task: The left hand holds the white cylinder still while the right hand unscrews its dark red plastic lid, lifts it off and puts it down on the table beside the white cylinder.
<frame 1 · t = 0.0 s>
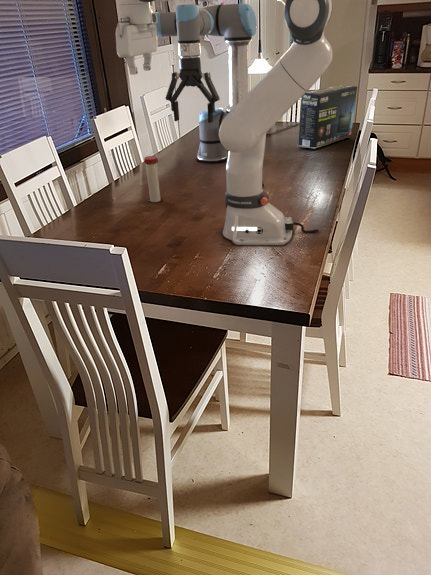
left hand: (193, 121, 169), 28 cm above the table, tool pointing down, fingers open, 13 cm apart
right hand: (140, 72, 133), 48 cm above the table, tool pointing down, fingers open, 8 cm apart
lid: (150, 158, 171), point 16 cm above the table, screwed on, not yet turned
router box: (325, 143, 245), on the table
white cylinder: (155, 200, 179), on the table
handgun: (249, 180, 196), on the table
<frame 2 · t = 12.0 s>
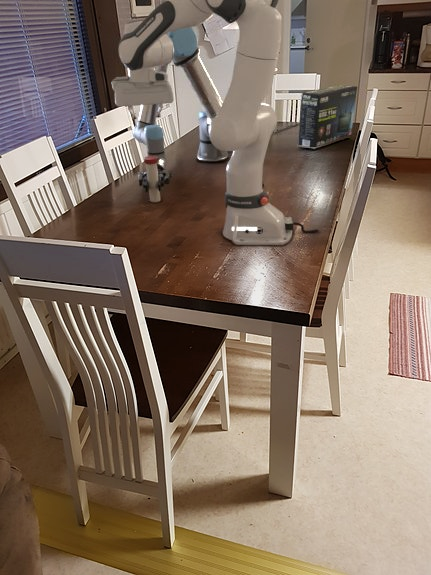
left hand: (152, 188, 171), 7 cm above the table, tool horizontal, fingers closed on white cylinder, 4 cm apart
right hand: (146, 118, 163), 31 cm above the table, tool pointing down, fingers open, 7 cm apart
white cylinder: (155, 200, 179), on the table, touching left hand
everything else where it was.
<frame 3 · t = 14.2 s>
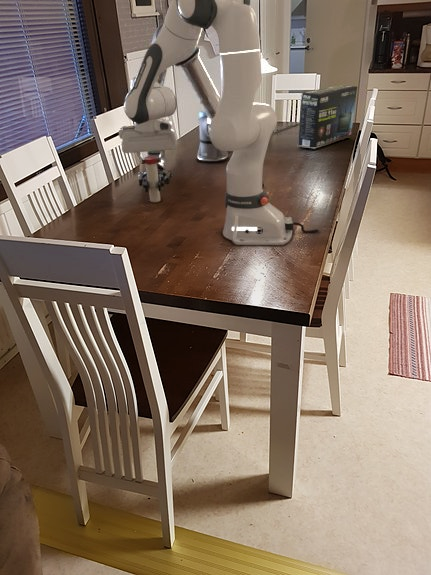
left hand: (152, 188, 171), 7 cm above the table, tool horizontal, fingers closed on white cylinder, 4 cm apart
right hand: (151, 162, 171), 15 cm above the table, tool pointing down, fingers closed on lid, 5 cm apart
lid: (150, 158, 171), point 16 cm above the table, screwed on, not yet turned, touching right hand
white cylinder: (155, 200, 179), on the table, touching left hand
everything else where it was.
when the right hand's fingers open (15 cm above the table, at t = 15.4 s): lid stays where it is, point 16 cm above the table.
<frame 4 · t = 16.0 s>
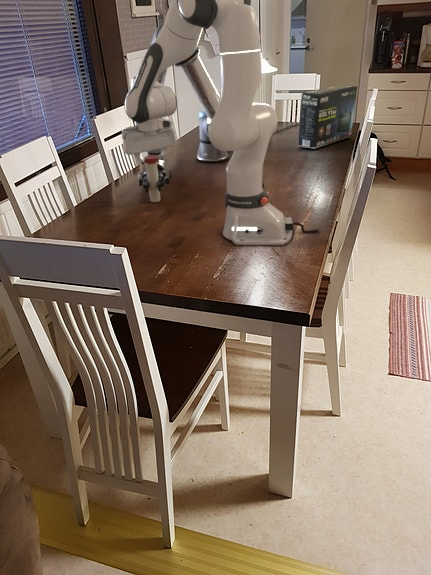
left hand: (152, 188, 171), 7 cm above the table, tool horizontal, fingers closed on white cylinder, 4 cm apart
right hand: (151, 162, 171), 15 cm above the table, tool pointing down, fingers open, 7 cm apart
lid: (150, 158, 170), point 16 cm above the table, turned 73° so far, risen 0.2 cm, still on its thread
white cylinder: (155, 200, 179), on the table, touching left hand
everything else where it was.
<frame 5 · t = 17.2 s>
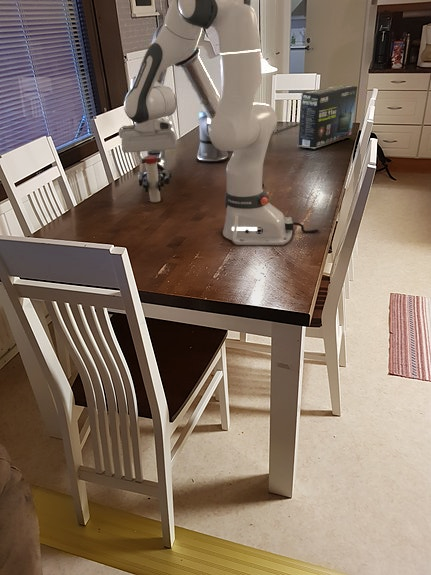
left hand: (152, 188, 171), 7 cm above the table, tool horizontal, fingers closed on white cylinder, 4 cm apart
right hand: (151, 162, 171), 15 cm above the table, tool pointing down, fingers closed on lid, 5 cm apart
lid: (150, 158, 170), point 16 cm above the table, turned 73° so far, risen 0.2 cm, still on its thread, touching right hand
white cylinder: (155, 200, 179), on the table, touching left hand
everything else where it was.
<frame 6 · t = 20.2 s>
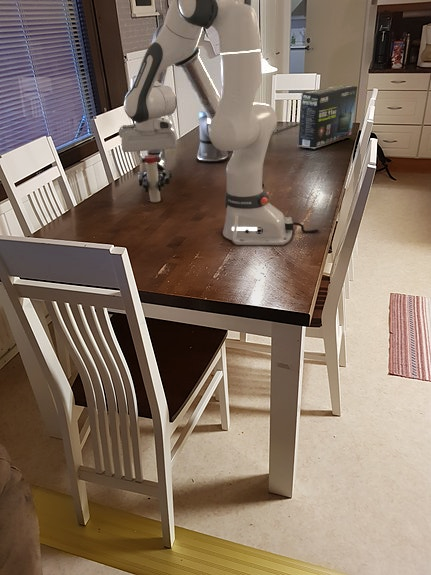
left hand: (152, 188, 171), 7 cm above the table, tool horizontal, fingers closed on white cylinder, 4 cm apart
right hand: (151, 161, 171), 15 cm above the table, tool pointing down, fingers closed on lid, 5 cm apart
lid: (150, 157, 170), point 17 cm above the table, turned 145° so far, risen 0.4 cm, still on its thread, touching right hand
white cylinder: (155, 200, 179), on the table, touching left hand
everything else where it was.
when the right hand's fingers open (2 cm above the table, at t = 26.5 s): lid drops 2 cm, point 1 cm above the table.
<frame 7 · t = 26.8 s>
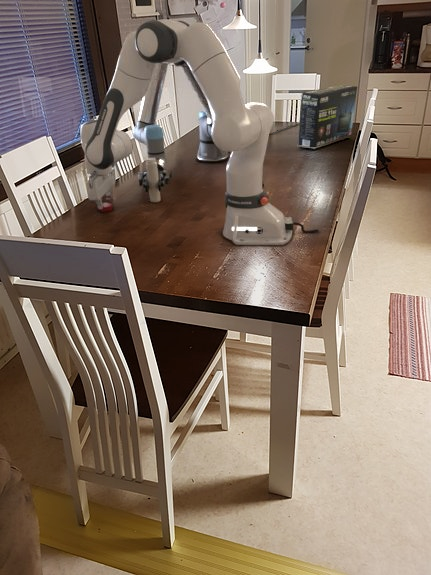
left hand: (152, 188, 171), 7 cm above the table, tool horizontal, fingers closed on white cylinder, 4 cm apart
right hand: (105, 204, 171), 2 cm above the table, tool pointing down, fingers open, 8 cm apart
lid: (105, 205, 172), point 1 cm above the table, off its thread
white cylinder: (155, 200, 179), on the table, touching left hand
everything else where it was.
when the left hand's fingers open (7 cm above the table, at t = 27.4 s): white cylinder stays where it is, on the table.
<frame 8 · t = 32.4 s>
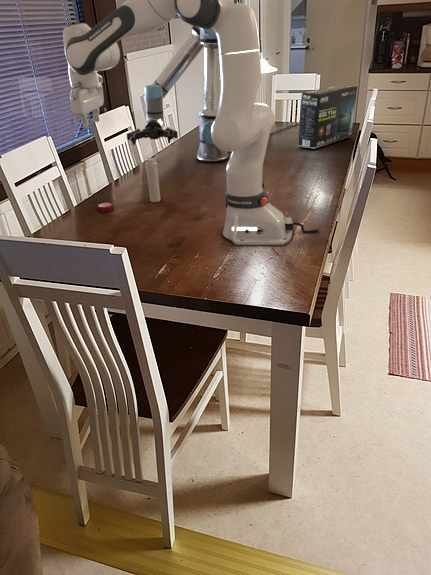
left hand: (151, 140, 176), 21 cm above the table, tool horizontal, fingers open, 13 cm apart
right hand: (91, 124, 157), 31 cm above the table, tool pointing down, fingers open, 8 cm apart
white cylinder: (155, 200, 179), on the table
everything else where it was.
at the end: lid came off its thread; lid point 1.4 cm above the table; the left hand is holding nothing; the right hand is holding nothing; white cylinder tilted 0°; white cylinder moved 0.0 cm from its start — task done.
